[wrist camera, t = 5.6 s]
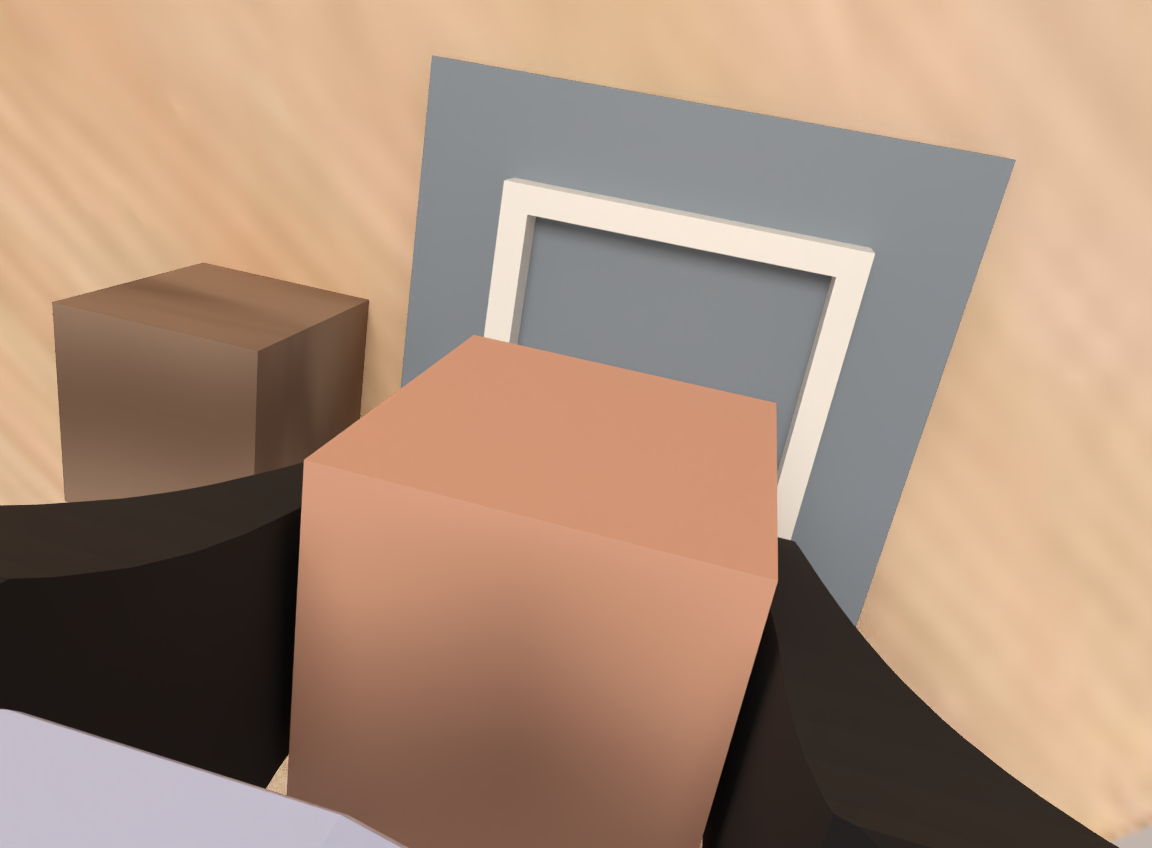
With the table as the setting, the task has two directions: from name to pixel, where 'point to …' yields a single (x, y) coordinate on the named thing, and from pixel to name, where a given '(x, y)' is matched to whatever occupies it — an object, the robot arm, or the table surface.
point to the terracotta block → (531, 603)
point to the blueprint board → (710, 270)
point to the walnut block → (201, 379)
